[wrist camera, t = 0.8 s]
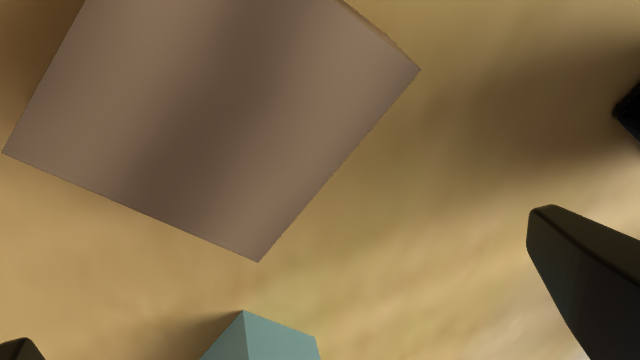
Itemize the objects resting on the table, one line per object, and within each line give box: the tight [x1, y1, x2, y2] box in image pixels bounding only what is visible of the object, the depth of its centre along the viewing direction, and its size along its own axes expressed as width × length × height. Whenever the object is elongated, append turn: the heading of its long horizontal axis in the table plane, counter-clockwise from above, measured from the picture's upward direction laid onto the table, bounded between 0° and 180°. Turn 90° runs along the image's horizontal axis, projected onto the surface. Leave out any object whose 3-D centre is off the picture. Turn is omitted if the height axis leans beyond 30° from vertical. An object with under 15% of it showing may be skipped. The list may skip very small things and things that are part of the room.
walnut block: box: [1, 0, 421, 262], centre depth 19 cm, size 10×10×4 cm
